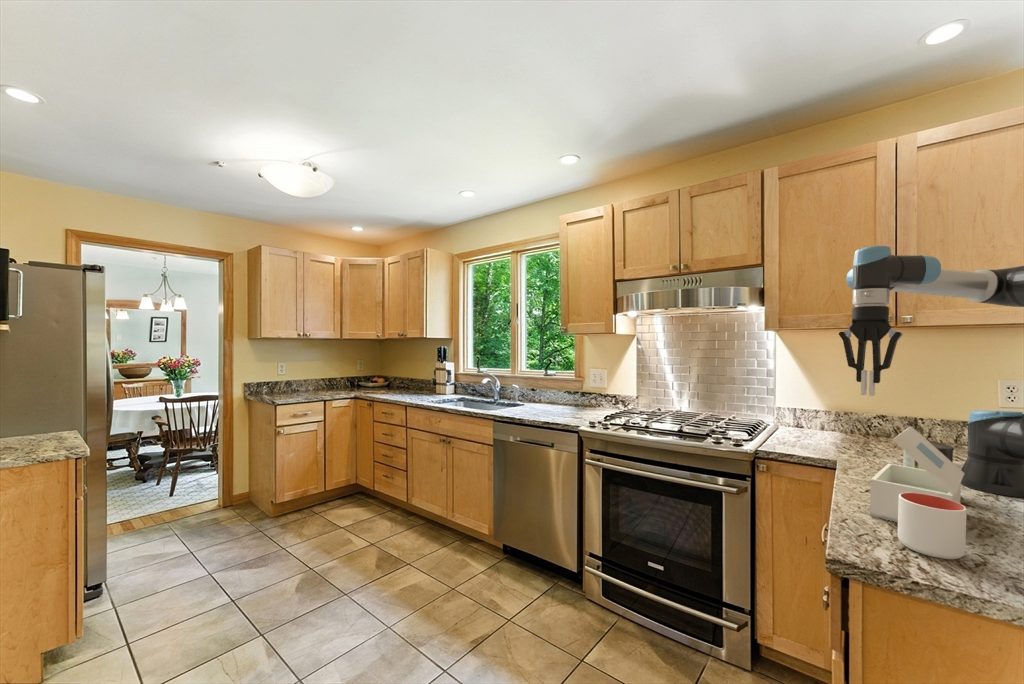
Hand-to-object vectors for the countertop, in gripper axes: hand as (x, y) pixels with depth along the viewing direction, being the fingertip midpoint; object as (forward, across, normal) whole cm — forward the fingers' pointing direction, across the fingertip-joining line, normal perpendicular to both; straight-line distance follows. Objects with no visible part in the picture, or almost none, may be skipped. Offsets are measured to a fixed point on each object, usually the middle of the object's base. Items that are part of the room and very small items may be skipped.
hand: (867, 394), depth 115 cm
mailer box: (+28, +10, 0) cm, 30 cm away
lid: (+14, +12, 0) cm, 18 cm away
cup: (+29, +15, -23) cm, 40 cm away
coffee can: (+29, +10, +22) cm, 38 cm away
